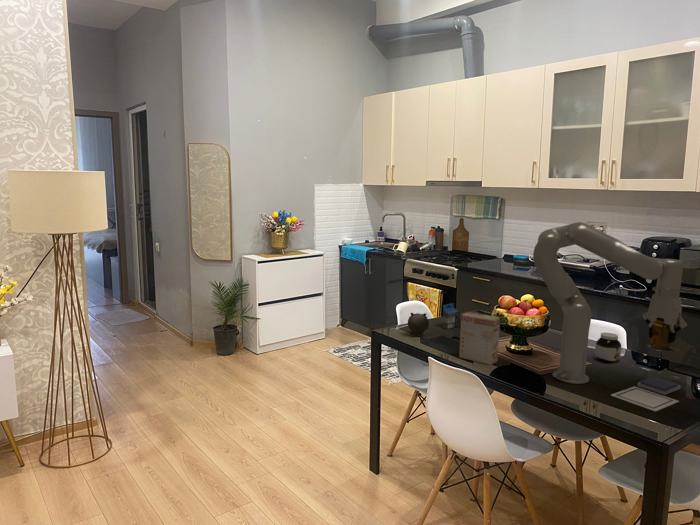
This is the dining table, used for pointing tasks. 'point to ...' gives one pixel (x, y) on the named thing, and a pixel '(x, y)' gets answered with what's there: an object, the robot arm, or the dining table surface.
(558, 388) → the dining table surface
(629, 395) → the marked sheet
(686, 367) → the dining table surface
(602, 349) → the spread jar
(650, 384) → the ink pad
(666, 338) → the condiment
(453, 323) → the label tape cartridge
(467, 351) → the coffeecake box
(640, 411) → the dining table surface
